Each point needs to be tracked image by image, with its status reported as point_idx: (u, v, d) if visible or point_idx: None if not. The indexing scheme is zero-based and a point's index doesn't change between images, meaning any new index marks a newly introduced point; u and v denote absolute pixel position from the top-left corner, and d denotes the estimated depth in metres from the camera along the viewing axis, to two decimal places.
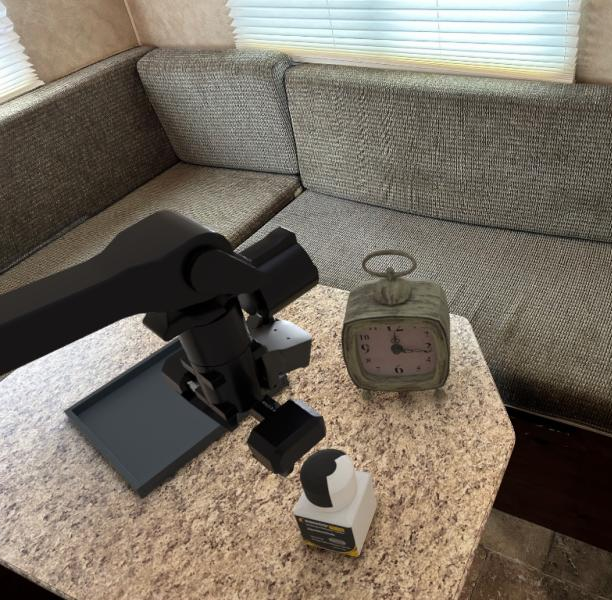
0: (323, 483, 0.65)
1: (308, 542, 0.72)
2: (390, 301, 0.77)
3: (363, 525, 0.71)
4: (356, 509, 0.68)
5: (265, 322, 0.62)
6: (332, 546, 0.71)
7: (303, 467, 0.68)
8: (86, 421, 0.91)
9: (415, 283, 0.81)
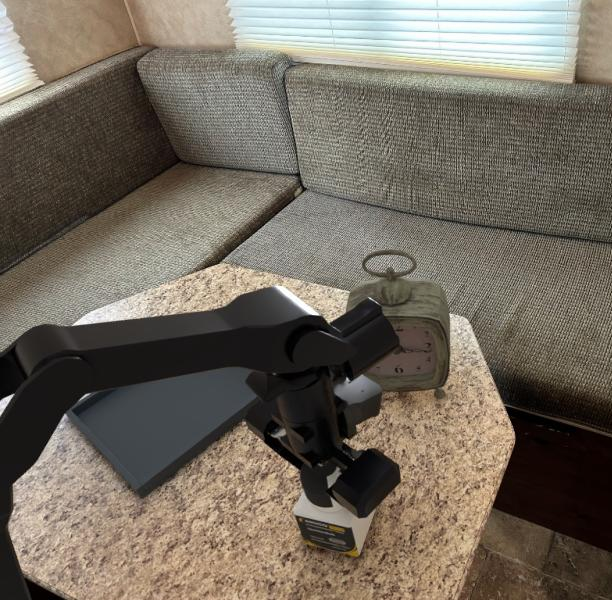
0: (324, 483, 0.65)
1: (308, 542, 0.72)
2: (390, 301, 0.77)
3: (363, 525, 0.71)
4: None
5: None
6: (332, 546, 0.71)
7: (303, 467, 0.68)
8: (86, 421, 0.91)
9: (415, 283, 0.81)
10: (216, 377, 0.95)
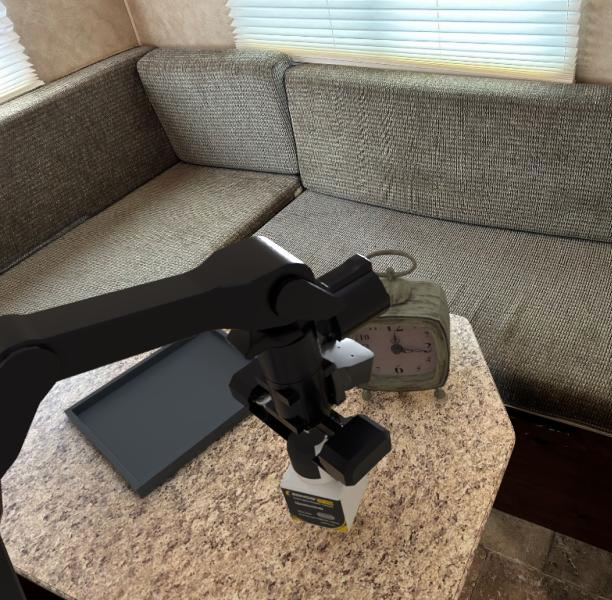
0: (311, 453, 0.62)
1: (296, 517, 0.69)
2: None
3: (354, 499, 0.68)
4: None
5: (327, 339, 0.65)
6: (321, 522, 0.68)
7: (290, 437, 0.64)
8: (86, 421, 0.91)
9: (415, 283, 0.81)
10: (216, 377, 0.95)
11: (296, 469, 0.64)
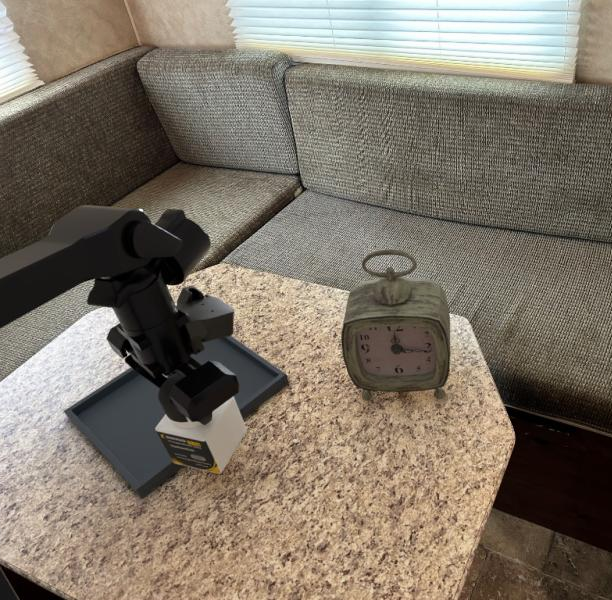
0: None
1: (175, 460, 0.76)
2: (390, 301, 0.77)
3: (226, 444, 0.75)
4: (212, 425, 0.72)
5: (197, 298, 0.73)
6: (196, 463, 0.75)
7: (162, 385, 0.72)
8: (86, 421, 0.91)
9: (415, 283, 0.81)
10: None
11: (166, 413, 0.71)
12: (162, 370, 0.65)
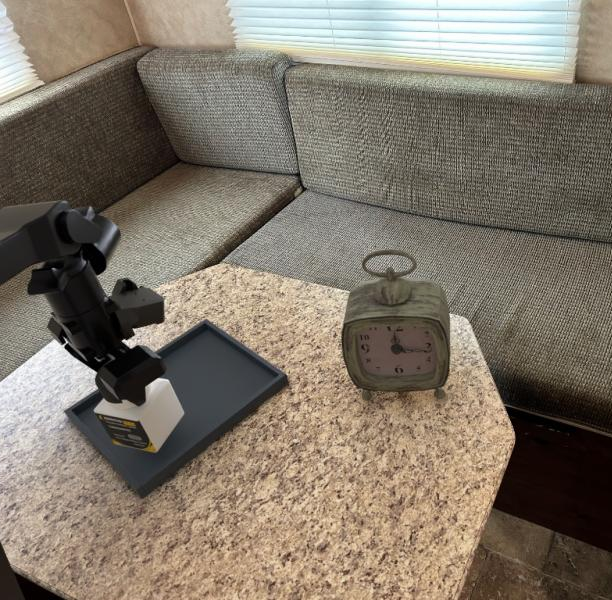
0: None
1: (115, 441, 0.82)
2: (390, 301, 0.77)
3: (161, 425, 0.81)
4: (146, 406, 0.78)
5: (131, 289, 0.78)
6: (133, 443, 0.81)
7: (99, 369, 0.77)
8: (86, 421, 0.91)
9: (415, 283, 0.81)
10: (216, 377, 0.95)
11: (102, 395, 0.77)
12: (94, 354, 0.71)
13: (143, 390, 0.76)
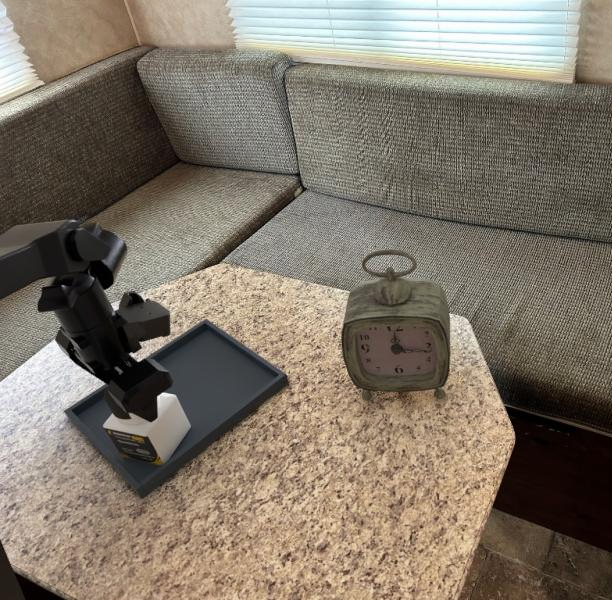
0: None
1: (124, 454, 0.84)
2: (390, 301, 0.77)
3: (169, 439, 0.83)
4: (154, 422, 0.80)
5: (138, 302, 0.80)
6: (141, 457, 0.83)
7: (108, 386, 0.79)
8: (86, 421, 0.91)
9: (415, 283, 0.81)
10: (216, 377, 0.95)
11: (112, 411, 0.79)
12: (102, 367, 0.73)
13: (155, 407, 0.77)
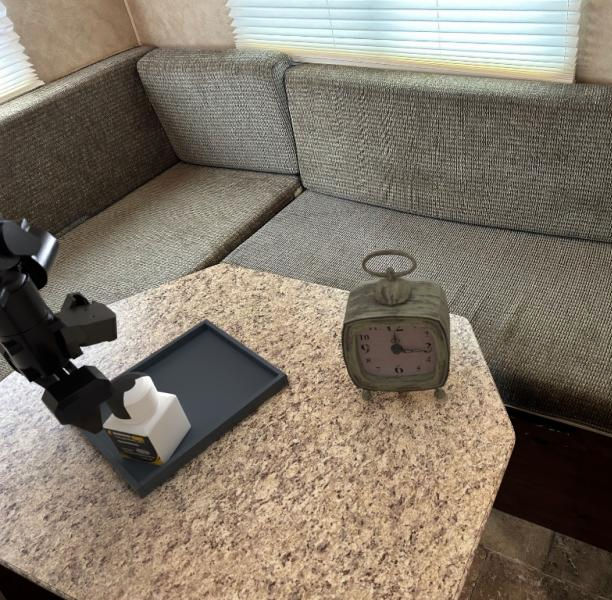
0: (120, 397, 0.77)
1: (124, 454, 0.84)
2: (390, 301, 0.77)
3: (169, 439, 0.83)
4: (154, 422, 0.80)
5: (83, 304, 0.74)
6: (141, 457, 0.83)
7: None
8: None
9: (415, 283, 0.81)
10: (216, 377, 0.95)
11: (112, 411, 0.79)
12: (37, 374, 0.67)
13: (99, 417, 0.71)
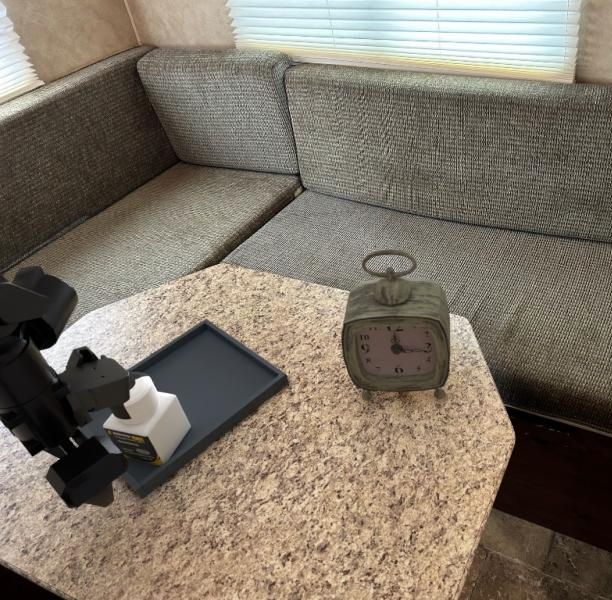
0: None
1: (124, 454, 0.84)
2: (390, 301, 0.77)
3: (169, 439, 0.83)
4: (154, 422, 0.80)
5: (91, 359, 0.66)
6: (141, 457, 0.83)
7: None
8: None
9: (415, 283, 0.81)
10: (216, 377, 0.95)
11: (112, 411, 0.79)
12: (40, 447, 0.58)
13: (110, 490, 0.63)
